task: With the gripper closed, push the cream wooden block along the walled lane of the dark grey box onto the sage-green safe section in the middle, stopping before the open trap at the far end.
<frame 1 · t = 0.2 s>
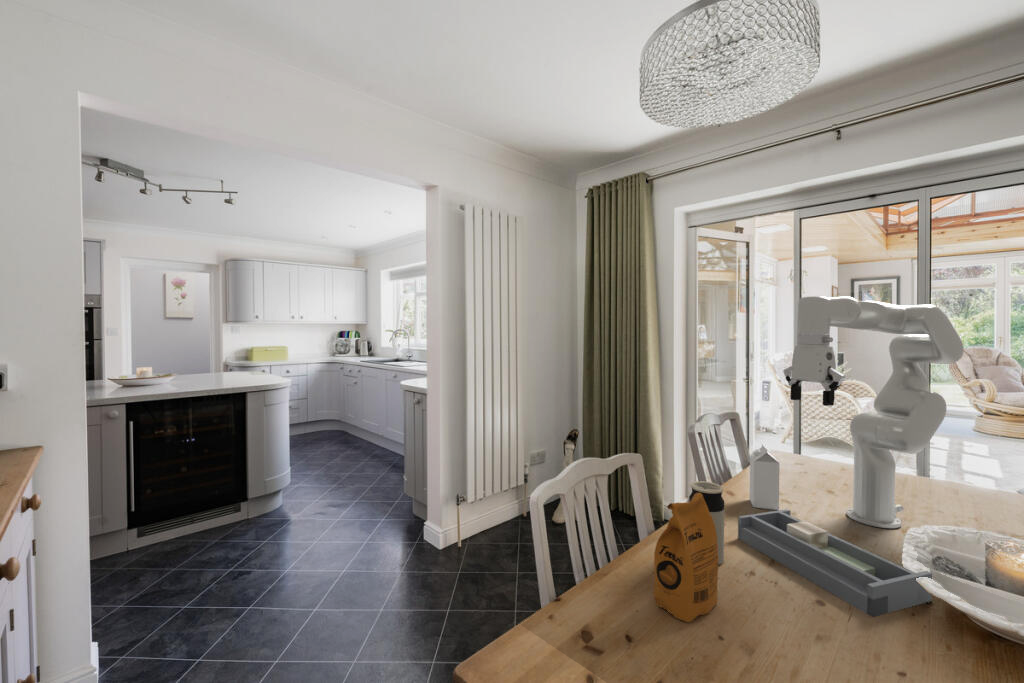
hand: (811, 402, 123), 36 cm above the table, tool pointing down, fingers open, 9 cm apart
milk carton: (763, 505, 142), on the table
block: (806, 543, 109), point 3 cm above the table, touching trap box
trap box: (822, 565, 105), on the table
travel mug: (705, 558, 109), on the table
coffee package: (685, 605, 91), on the table
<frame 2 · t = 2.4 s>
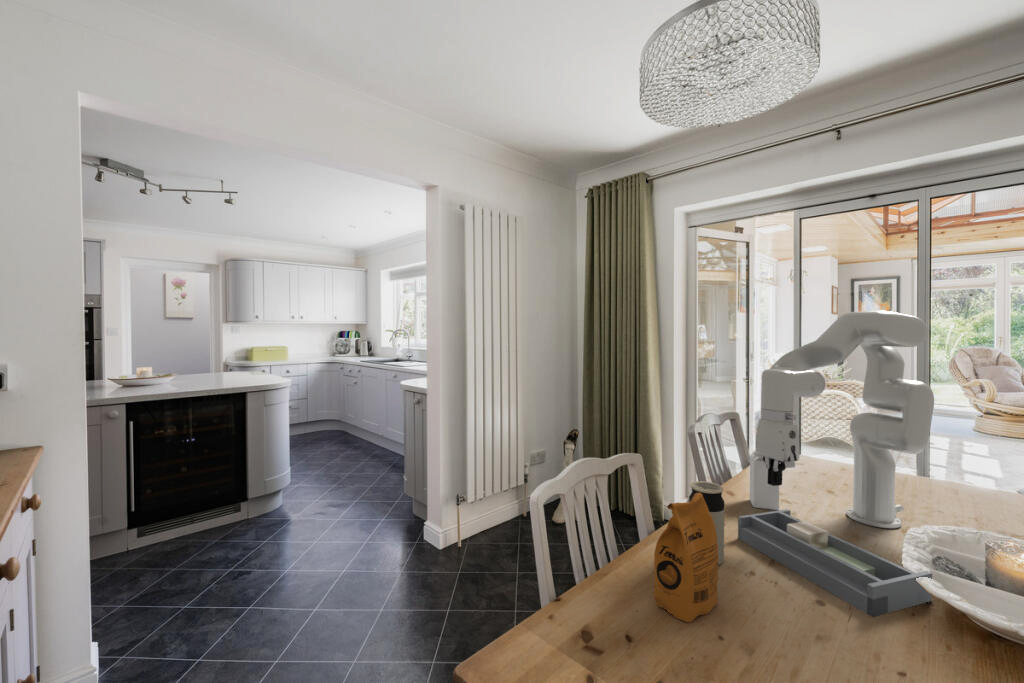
hand: (774, 484, 117), 15 cm above the table, tool pointing down, fingers closed
nothing on the table moved.
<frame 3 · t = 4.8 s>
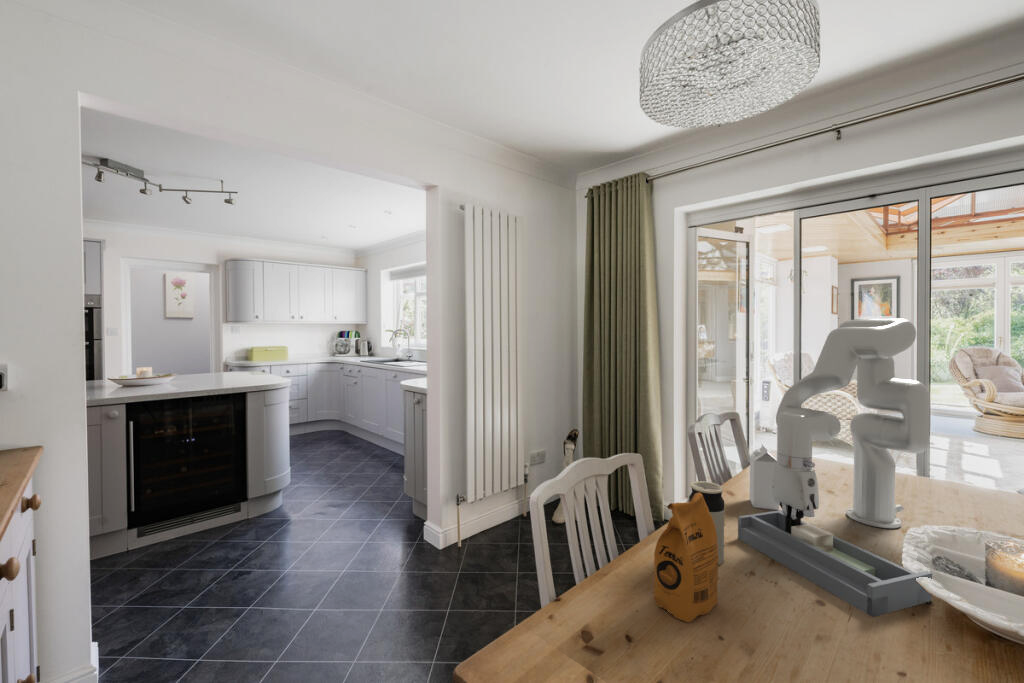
hand: (792, 532, 112), 5 cm above the table, tool pointing down, fingers closed
block: (811, 546, 108), point 4 cm above the table, touching gripper
everything else where it was.
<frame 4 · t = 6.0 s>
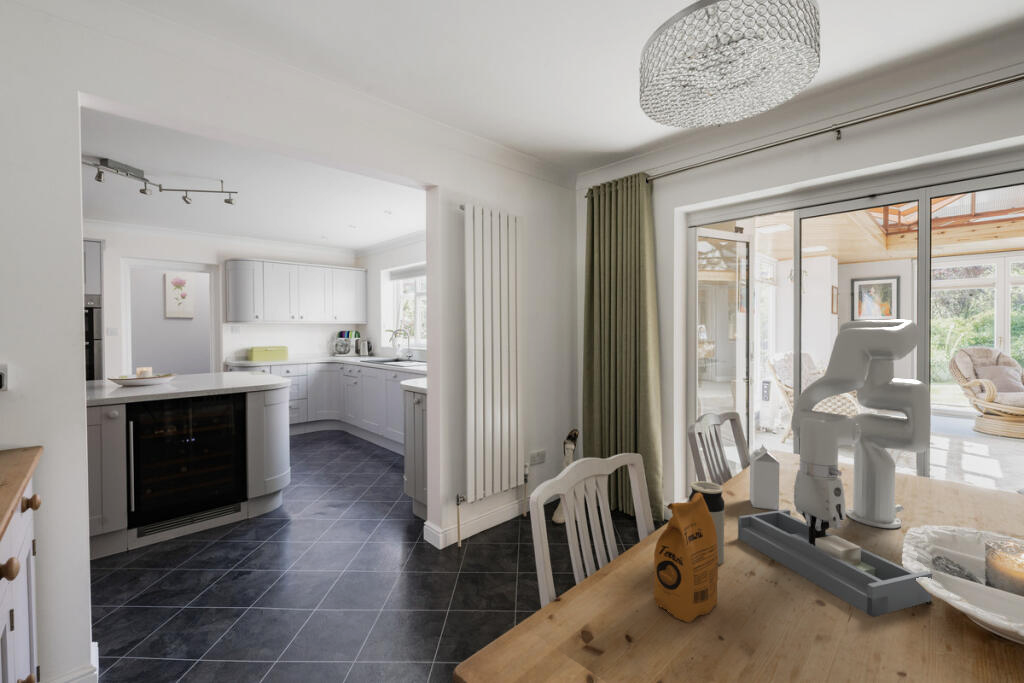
hand: (816, 544, 106), 5 cm above the table, tool pointing down, fingers closed
block: (837, 559, 101), point 3 cm above the table, touching gripper, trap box
everything else where it was.
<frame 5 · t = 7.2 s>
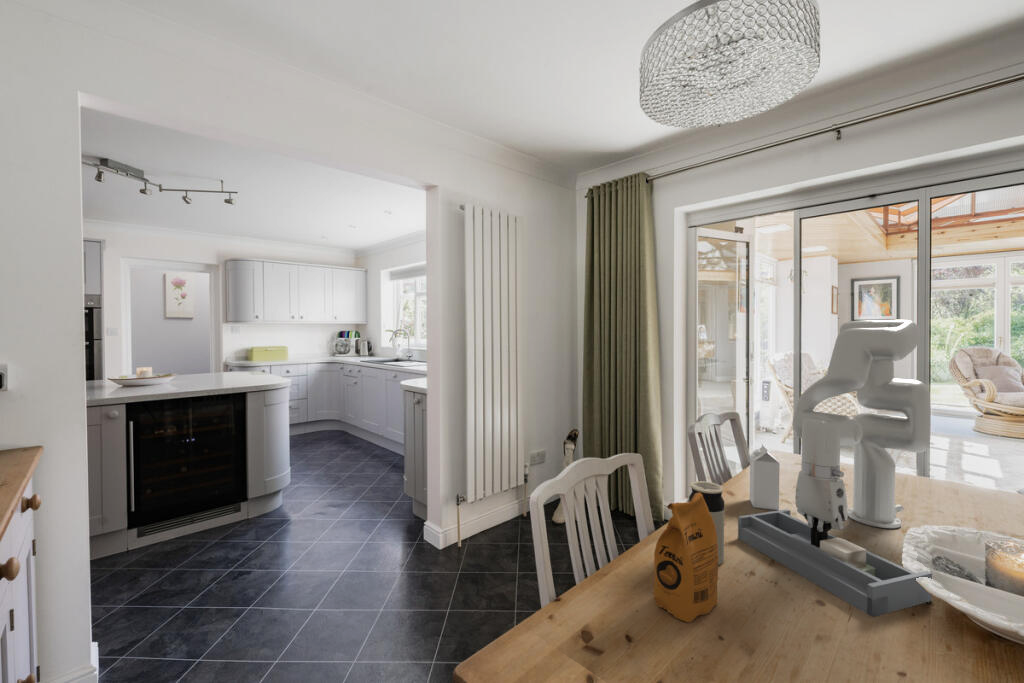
hand: (818, 545, 106), 5 cm above the table, tool pointing down, fingers closed
block: (842, 562, 100), point 3 cm above the table, touching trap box
everything else where it was.
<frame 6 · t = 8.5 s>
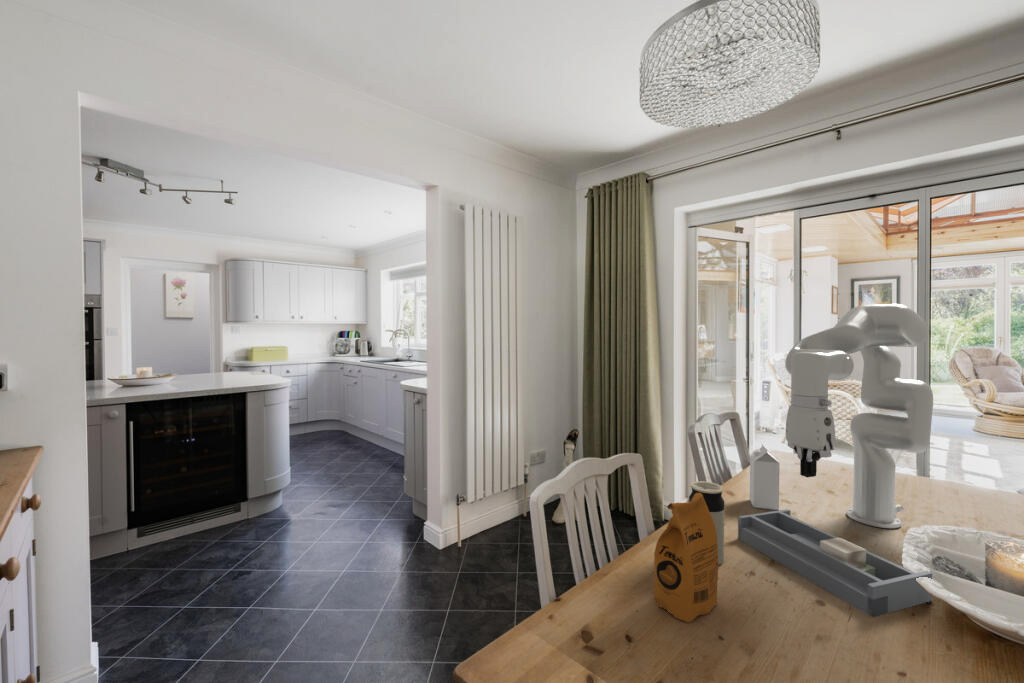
hand: (808, 475, 109), 20 cm above the table, tool pointing down, fingers closed
nothing on the table moved.
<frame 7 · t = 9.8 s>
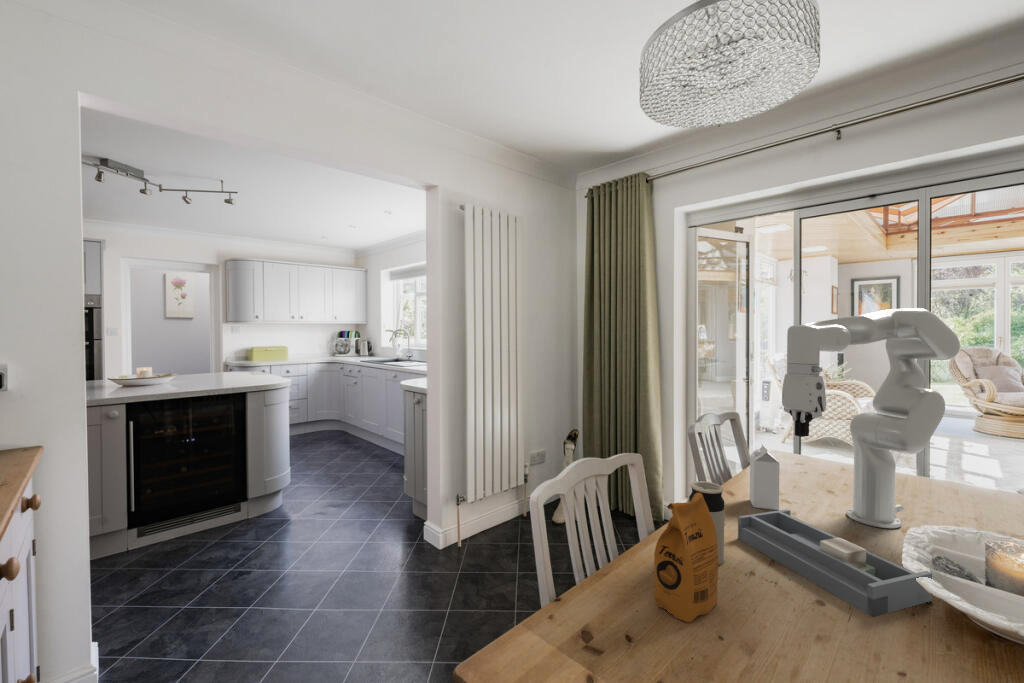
hand: (801, 435, 122), 27 cm above the table, tool pointing down, fingers closed
nothing on the table moved.
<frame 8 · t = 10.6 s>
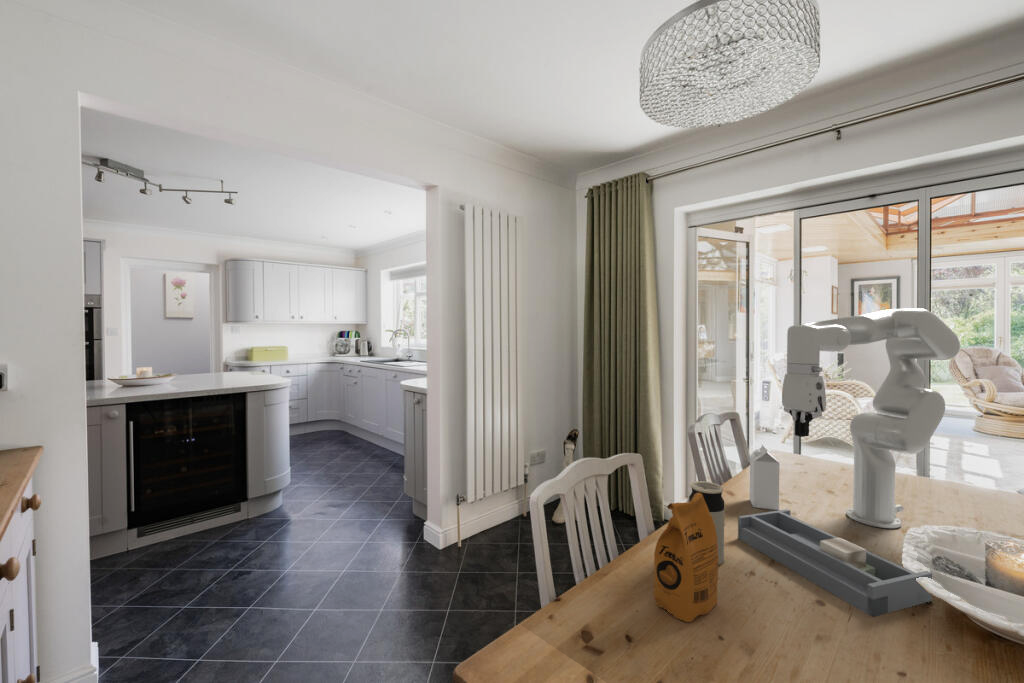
hand: (801, 435, 122), 27 cm above the table, tool pointing down, fingers closed
nothing on the table moved.
at the end: block inside the target area (0.8 cm from its centre), point 3.5 cm above the table; block tilted 0°; block touching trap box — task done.
